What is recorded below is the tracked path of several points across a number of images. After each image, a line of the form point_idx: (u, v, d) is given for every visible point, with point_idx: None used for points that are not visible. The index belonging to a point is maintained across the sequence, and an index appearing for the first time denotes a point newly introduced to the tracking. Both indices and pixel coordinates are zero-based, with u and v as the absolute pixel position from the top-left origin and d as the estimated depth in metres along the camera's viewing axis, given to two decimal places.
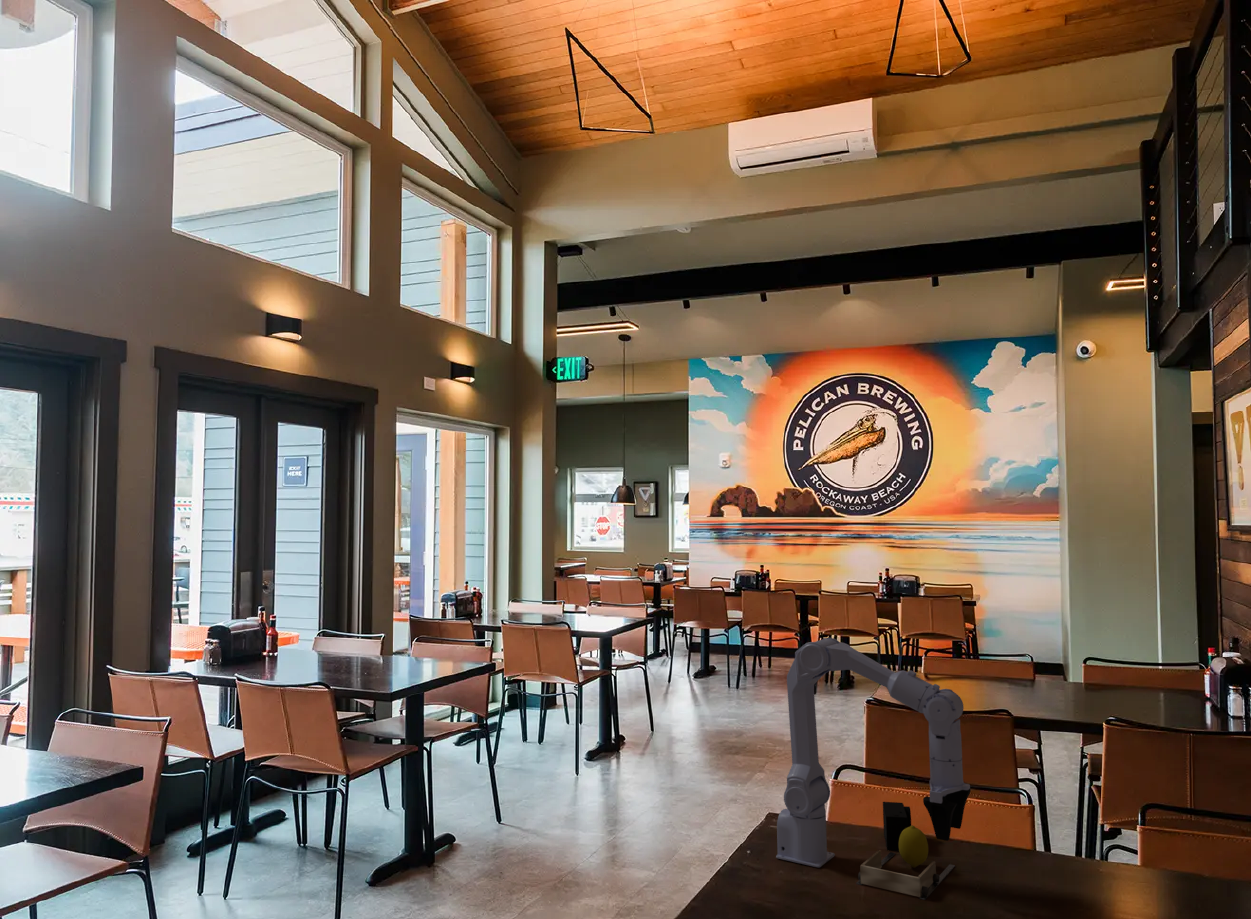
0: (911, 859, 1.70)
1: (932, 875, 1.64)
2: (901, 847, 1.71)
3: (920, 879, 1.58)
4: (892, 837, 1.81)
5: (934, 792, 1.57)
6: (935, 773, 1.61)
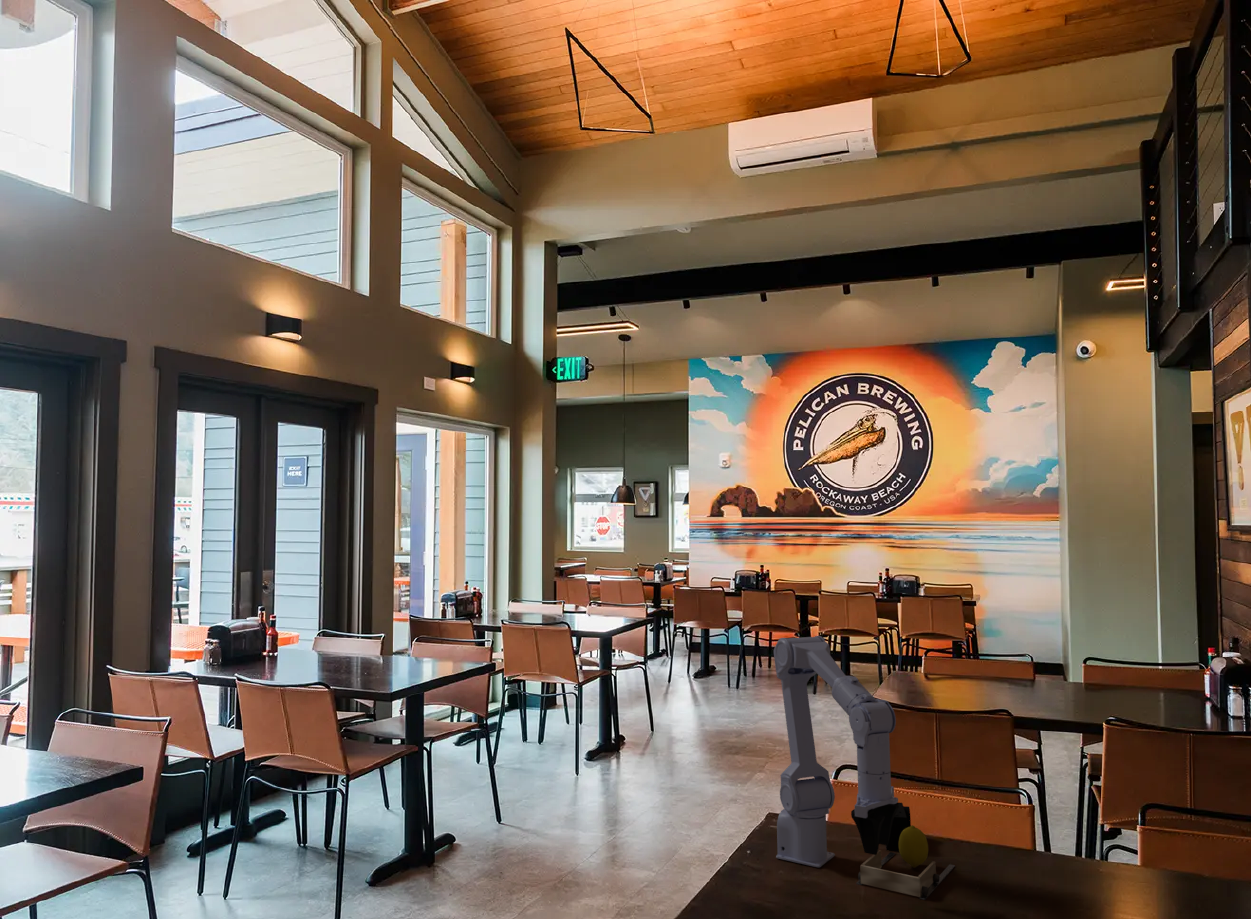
0: (911, 859, 1.70)
1: (932, 875, 1.64)
2: (901, 847, 1.71)
3: (920, 879, 1.58)
4: (891, 837, 1.81)
5: (859, 806, 1.52)
6: (862, 787, 1.56)
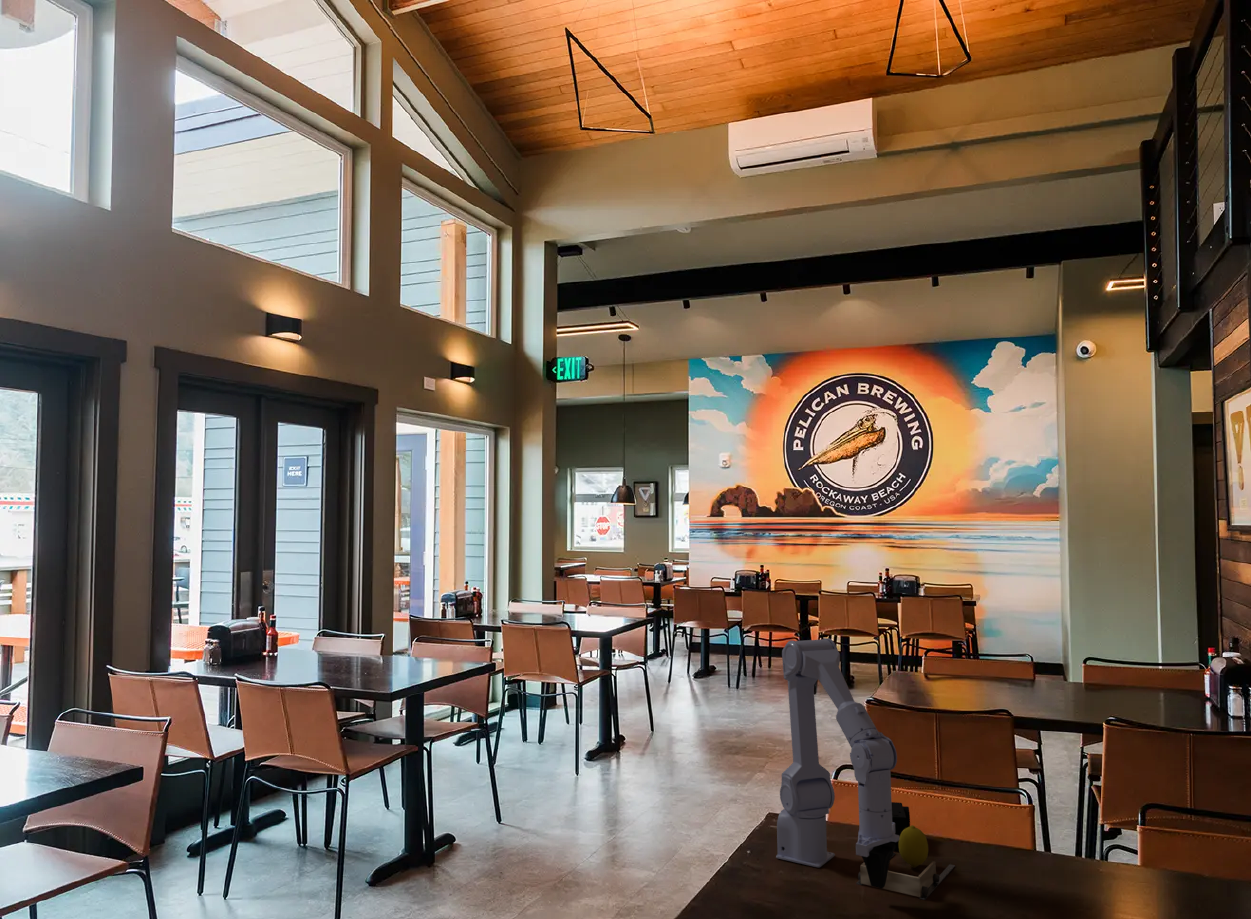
0: (911, 859, 1.70)
1: (932, 875, 1.64)
2: (901, 847, 1.71)
3: (920, 879, 1.58)
4: None
5: (860, 845, 1.51)
6: (863, 824, 1.56)
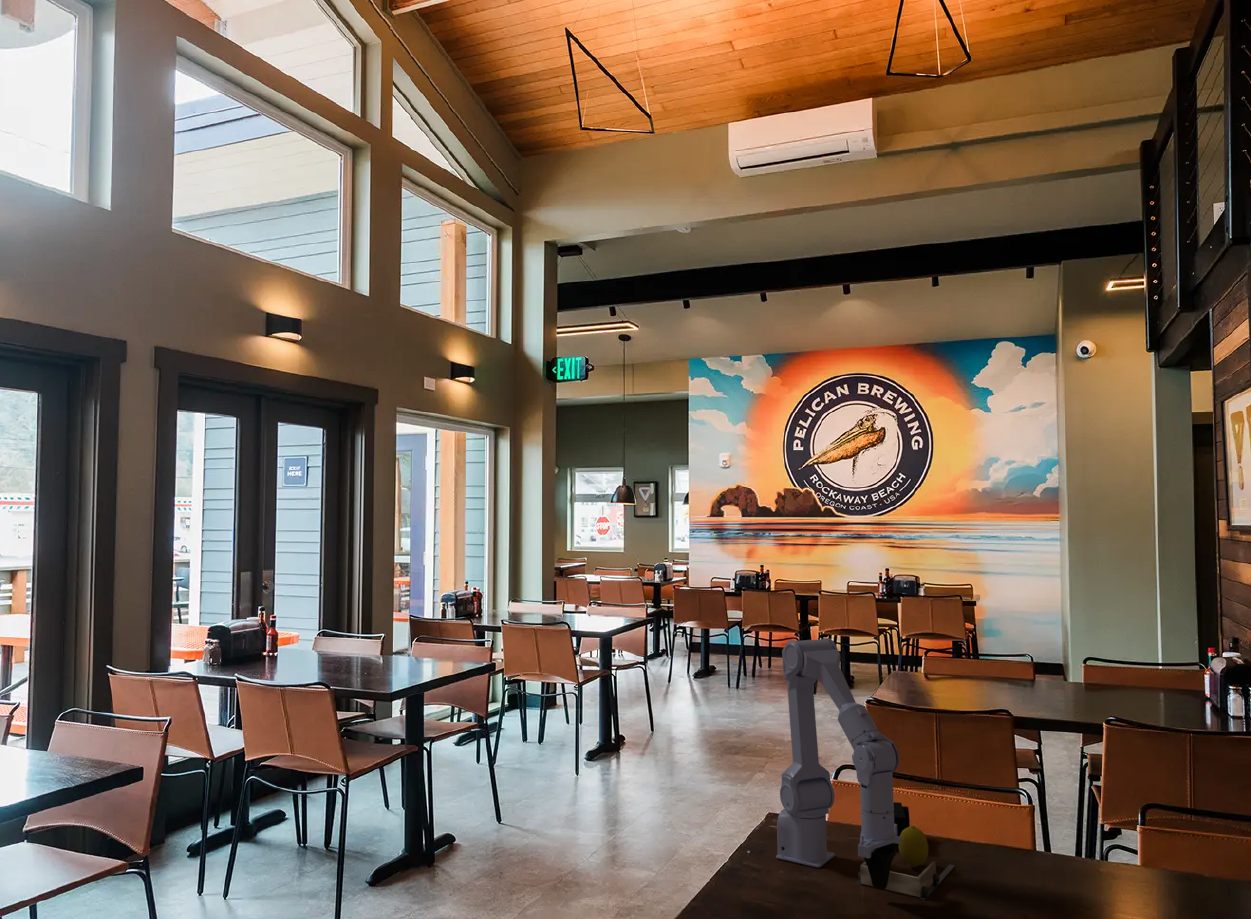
0: (911, 859, 1.70)
1: (932, 875, 1.64)
2: (901, 847, 1.71)
3: (920, 879, 1.58)
4: None
5: (862, 846, 1.52)
6: (865, 825, 1.56)
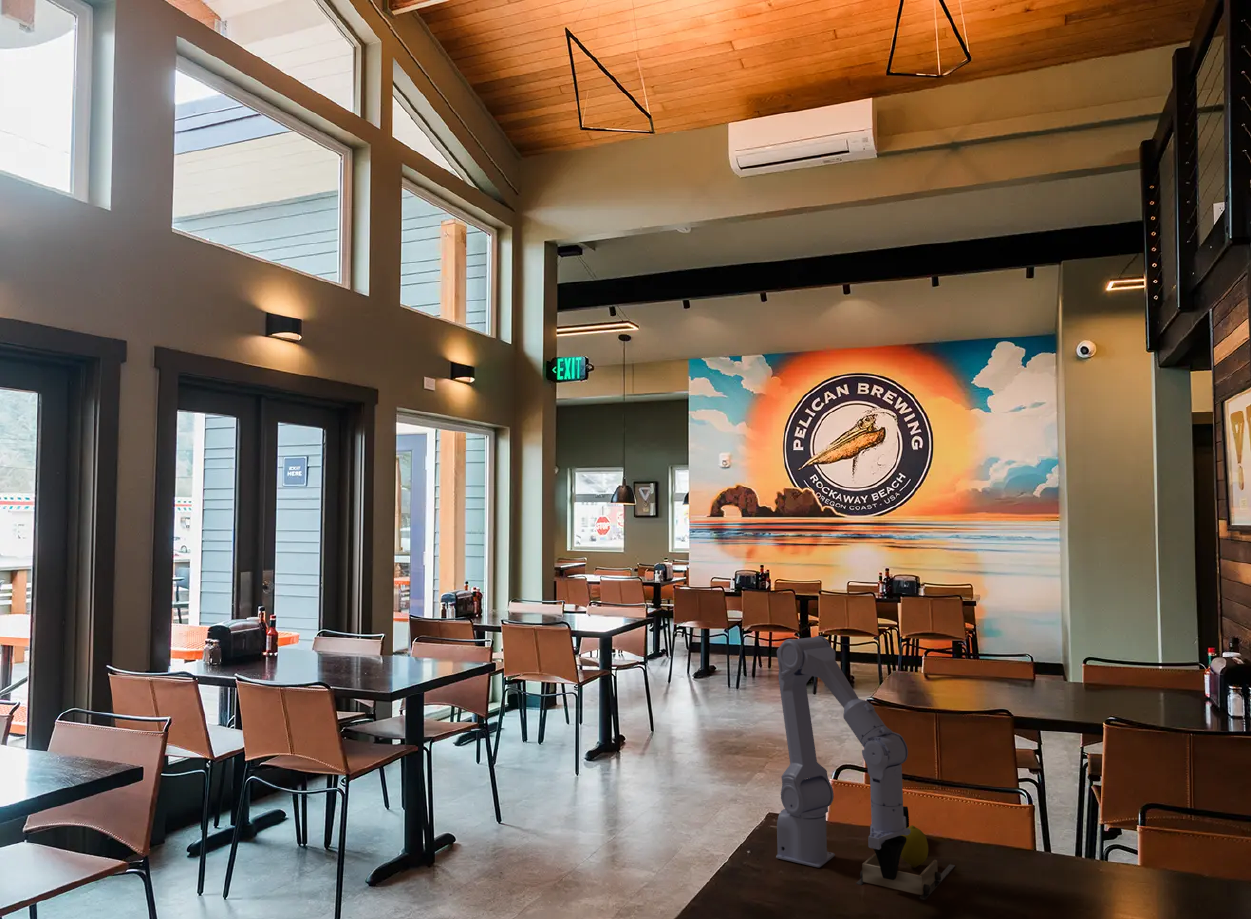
0: (911, 859, 1.70)
1: (934, 873, 1.65)
2: None
3: (922, 877, 1.59)
4: None
5: (873, 838, 1.56)
6: (875, 818, 1.61)
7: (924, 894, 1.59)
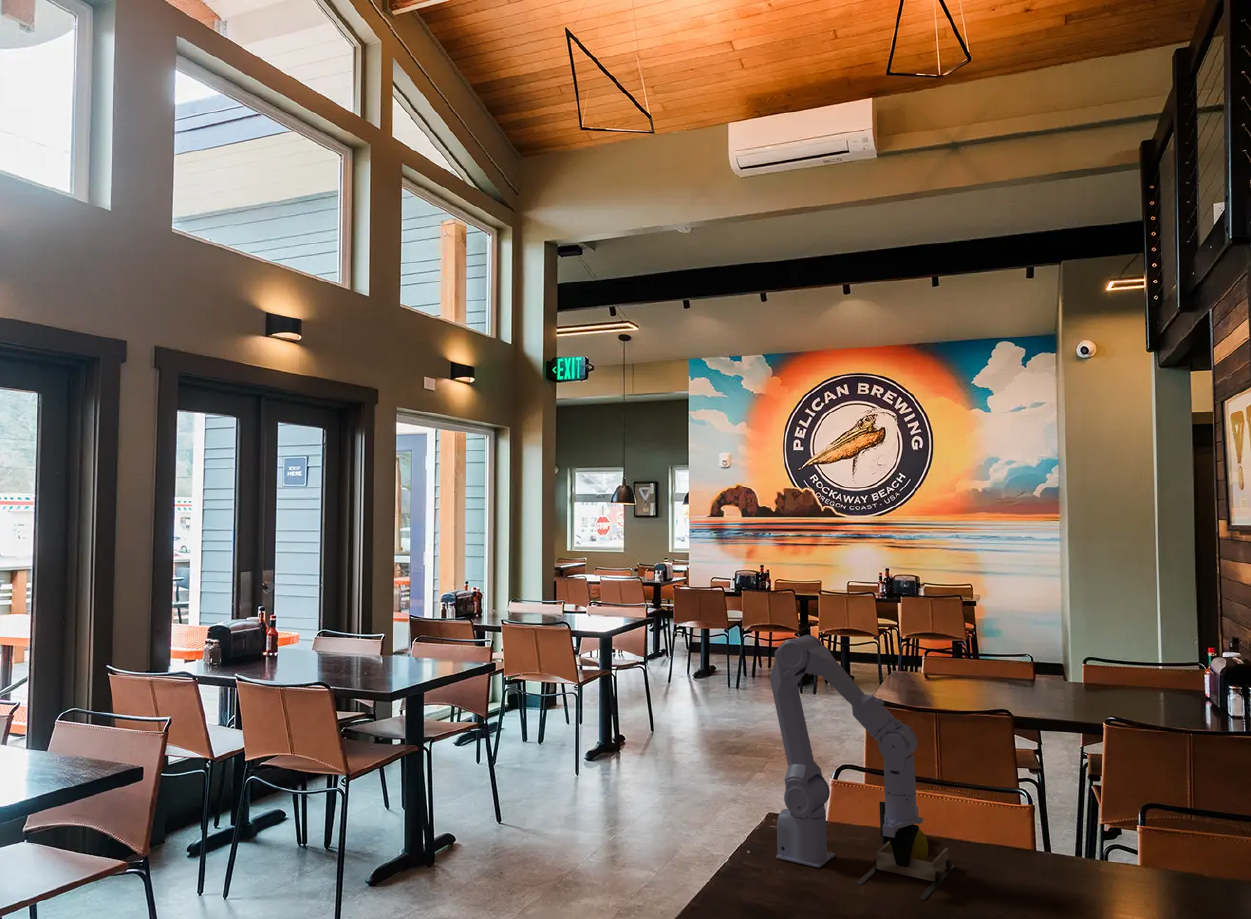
0: None
1: (945, 861, 1.71)
2: None
3: (934, 864, 1.65)
4: None
5: (887, 826, 1.62)
6: (889, 807, 1.67)
7: (924, 894, 1.59)
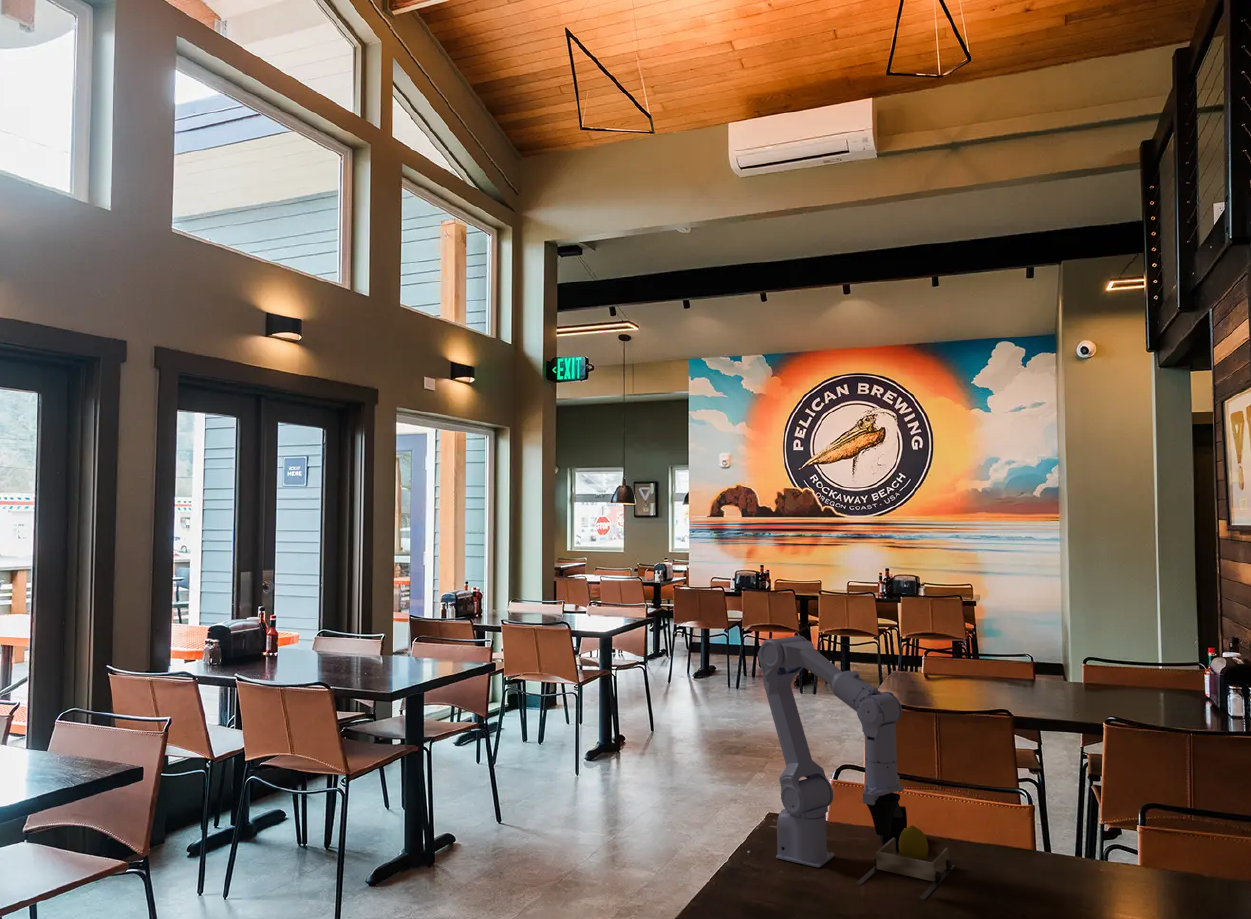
0: None
1: (945, 861, 1.71)
2: (901, 847, 1.71)
3: (934, 864, 1.65)
4: (888, 837, 1.81)
5: (867, 794, 1.58)
6: (869, 775, 1.63)
7: (924, 894, 1.59)
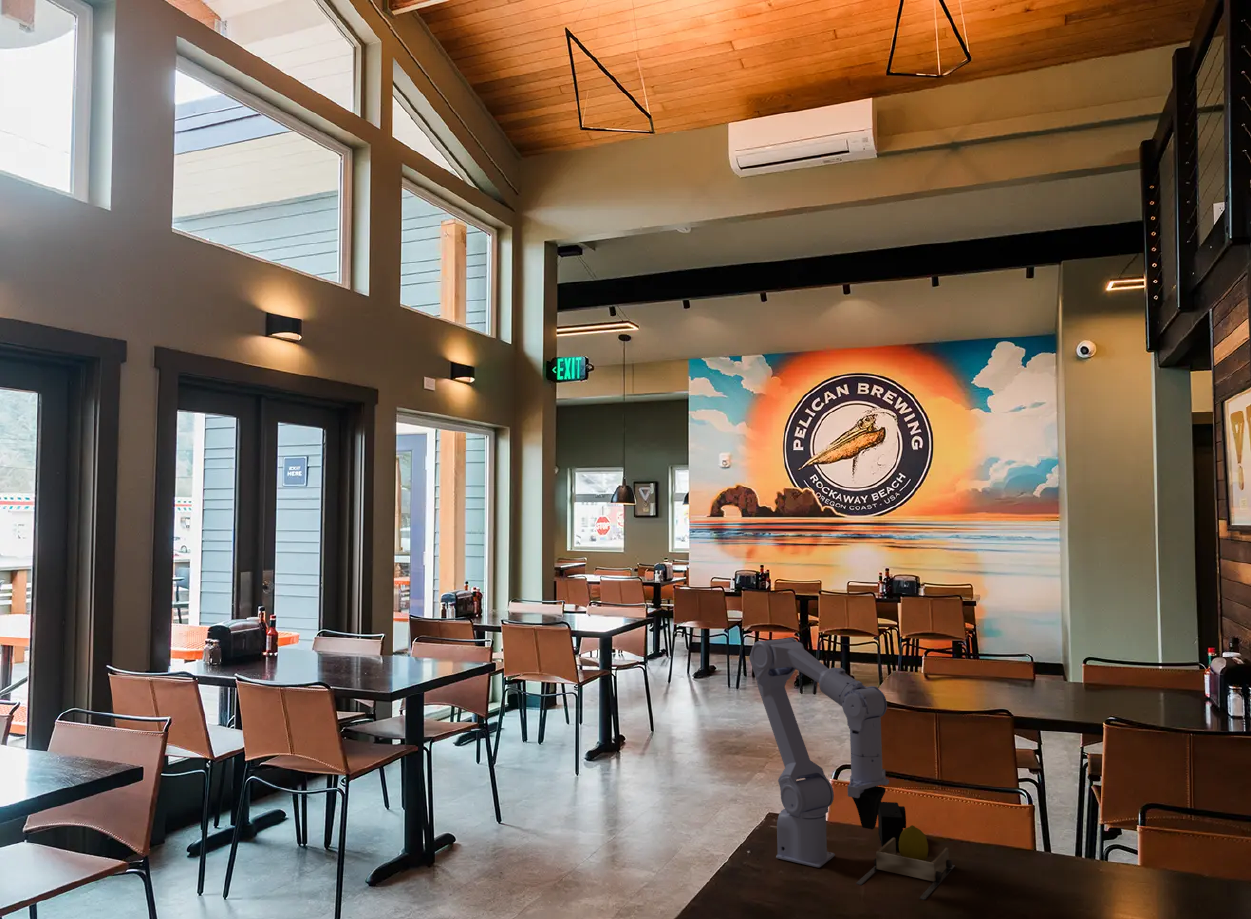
0: None
1: (945, 861, 1.71)
2: (901, 847, 1.71)
3: (934, 864, 1.65)
4: (887, 837, 1.81)
5: (852, 787, 1.60)
6: (855, 769, 1.64)
7: (924, 894, 1.59)
